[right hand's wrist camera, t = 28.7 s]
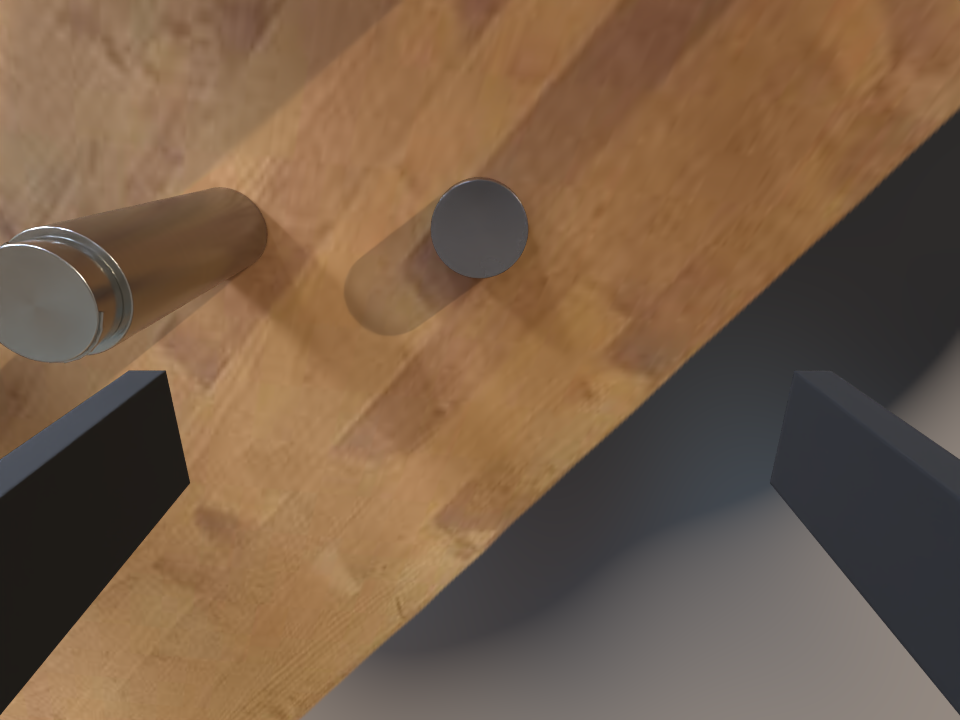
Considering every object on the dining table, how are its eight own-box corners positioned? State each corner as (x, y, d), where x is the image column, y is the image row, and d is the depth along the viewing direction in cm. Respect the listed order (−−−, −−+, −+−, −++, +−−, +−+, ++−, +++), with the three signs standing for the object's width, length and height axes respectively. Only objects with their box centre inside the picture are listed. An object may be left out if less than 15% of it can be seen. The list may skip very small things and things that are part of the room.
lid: (534, 185, 38) (536, 188, 37) (516, 277, 41) (518, 285, 39) (439, 169, 38) (437, 171, 36) (427, 264, 40) (424, 270, 39)
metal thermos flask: (182, 258, 40) (-37, 353, 23) (188, 177, 38) (-45, 217, 21) (262, 278, 41) (106, 385, 24) (272, 199, 39) (110, 255, 22)
